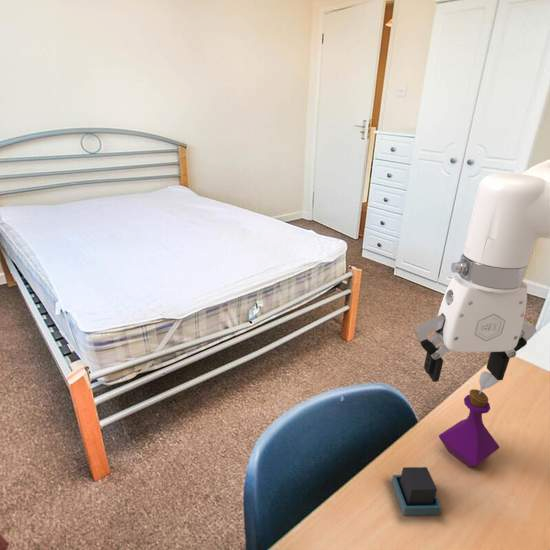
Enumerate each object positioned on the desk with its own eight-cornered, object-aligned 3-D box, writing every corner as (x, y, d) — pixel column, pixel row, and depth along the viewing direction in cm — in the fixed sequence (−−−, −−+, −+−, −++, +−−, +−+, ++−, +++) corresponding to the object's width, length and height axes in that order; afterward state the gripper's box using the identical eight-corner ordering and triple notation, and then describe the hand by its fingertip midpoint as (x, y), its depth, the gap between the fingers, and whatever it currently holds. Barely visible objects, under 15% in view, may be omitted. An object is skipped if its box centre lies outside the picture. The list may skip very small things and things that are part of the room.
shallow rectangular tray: (424, 481, 65) (426, 474, 64) (439, 515, 60) (441, 507, 59) (391, 482, 65) (393, 474, 64) (403, 515, 60) (405, 508, 59)
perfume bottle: (471, 479, 66) (499, 398, 59) (434, 448, 72) (455, 371, 64) (495, 460, 70) (524, 381, 62) (458, 432, 75) (481, 357, 68)
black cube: (422, 483, 64) (426, 466, 63) (432, 506, 61) (437, 489, 59) (398, 484, 64) (402, 467, 62) (407, 507, 60) (411, 489, 59)
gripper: (439, 283, 46) (416, 393, 53) (575, 282, 47) (534, 390, 54) (415, 260, 53) (397, 360, 60) (534, 259, 54) (503, 358, 61)
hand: (462, 375), depth 57 cm, fingers open, 9 cm apart
